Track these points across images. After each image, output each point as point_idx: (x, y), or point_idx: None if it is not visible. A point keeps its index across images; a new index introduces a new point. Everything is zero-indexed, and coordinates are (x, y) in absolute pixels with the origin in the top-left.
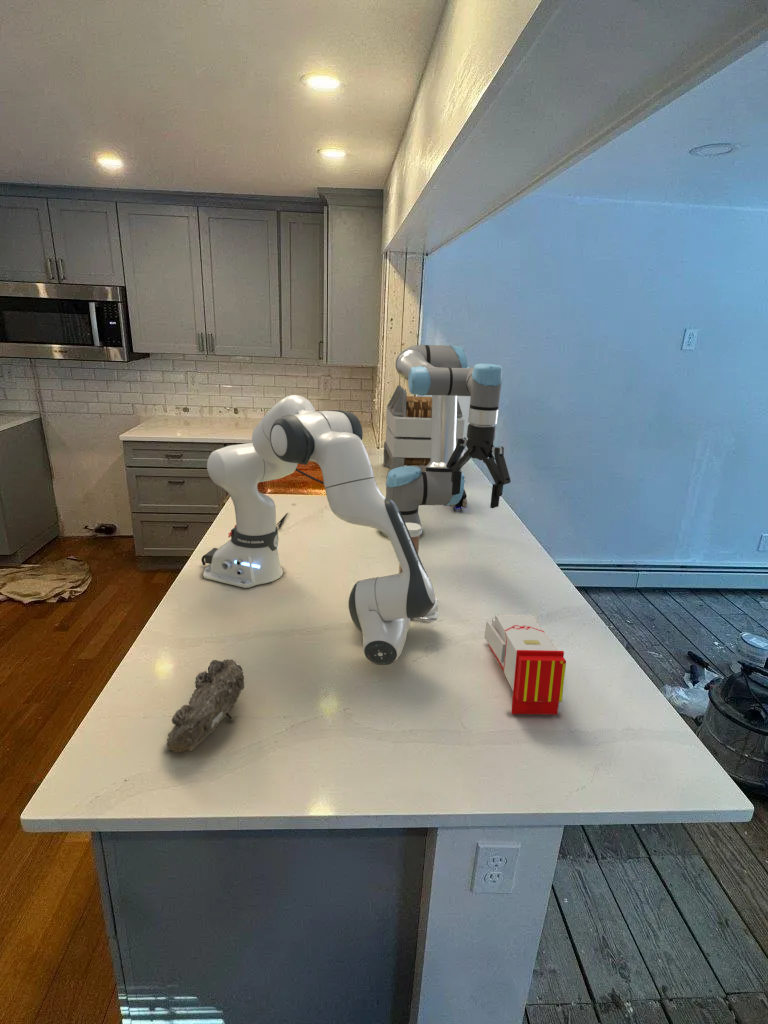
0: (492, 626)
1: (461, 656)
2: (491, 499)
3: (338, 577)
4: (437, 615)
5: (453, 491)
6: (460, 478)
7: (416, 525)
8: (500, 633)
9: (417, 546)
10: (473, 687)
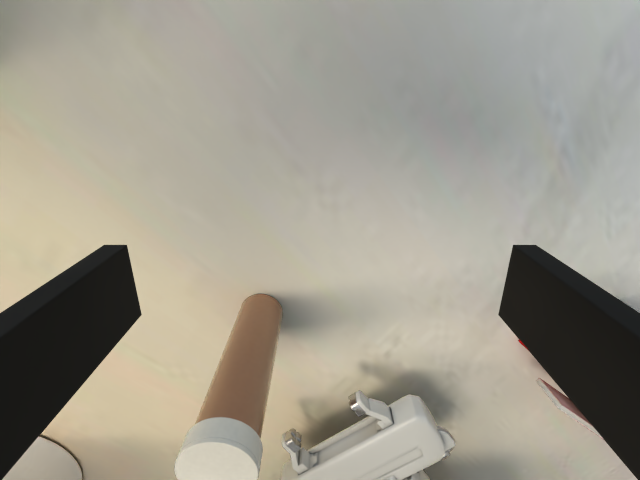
0: (581, 419)
1: (496, 392)
2: (539, 357)
3: (120, 374)
4: (449, 434)
5: (121, 333)
6: (22, 336)
7: (221, 454)
8: None
9: (263, 405)
10: (552, 430)
